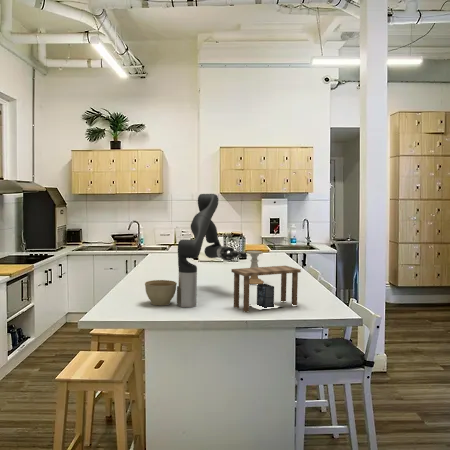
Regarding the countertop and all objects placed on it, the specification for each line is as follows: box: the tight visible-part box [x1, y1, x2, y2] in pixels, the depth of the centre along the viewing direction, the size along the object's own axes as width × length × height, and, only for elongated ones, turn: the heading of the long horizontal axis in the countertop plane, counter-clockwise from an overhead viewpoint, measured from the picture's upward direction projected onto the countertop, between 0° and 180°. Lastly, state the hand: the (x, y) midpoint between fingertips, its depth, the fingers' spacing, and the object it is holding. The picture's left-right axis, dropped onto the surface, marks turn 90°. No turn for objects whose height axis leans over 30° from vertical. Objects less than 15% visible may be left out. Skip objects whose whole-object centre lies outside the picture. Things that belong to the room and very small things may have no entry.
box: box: [256, 283, 275, 308], centre depth 255 cm, size 8×6×11 cm
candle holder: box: [246, 250, 265, 284], centre depth 318 cm, size 12×12×20 cm
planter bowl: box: [144, 279, 178, 306], centre depth 258 cm, size 16×16×11 cm
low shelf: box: [231, 265, 302, 313], centre depth 254 cm, size 32×14×19 cm, turn 117°
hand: (239, 256), depth 271 cm, fingers open, 8 cm apart
